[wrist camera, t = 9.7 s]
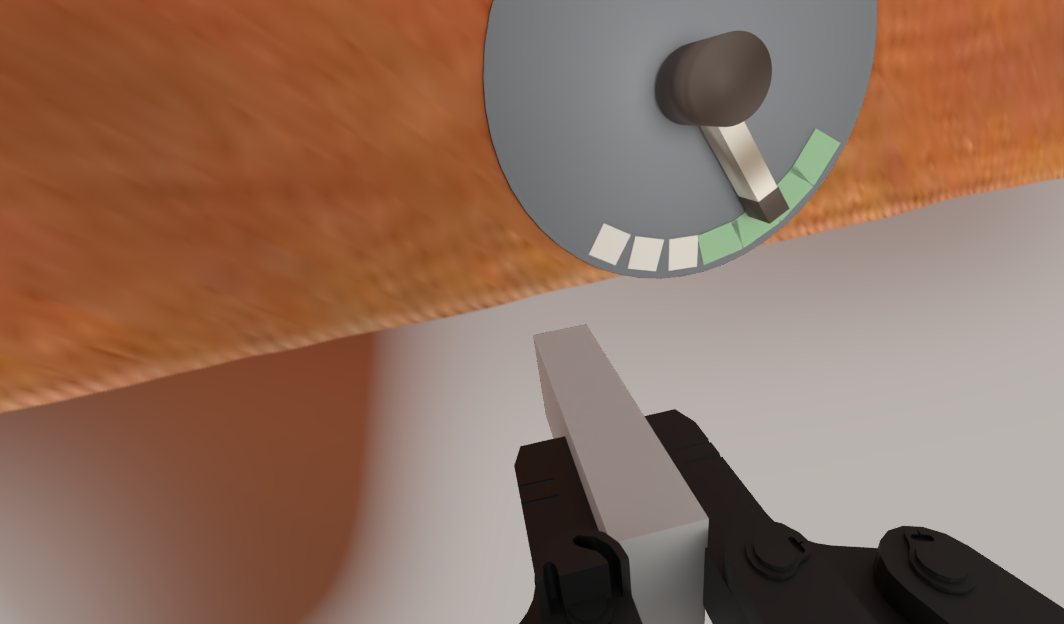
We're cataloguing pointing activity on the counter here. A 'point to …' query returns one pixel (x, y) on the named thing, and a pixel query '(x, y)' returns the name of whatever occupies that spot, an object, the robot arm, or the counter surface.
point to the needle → (725, 109)
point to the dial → (663, 121)
